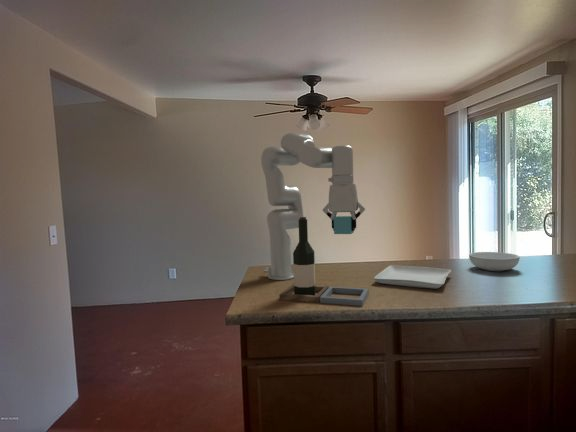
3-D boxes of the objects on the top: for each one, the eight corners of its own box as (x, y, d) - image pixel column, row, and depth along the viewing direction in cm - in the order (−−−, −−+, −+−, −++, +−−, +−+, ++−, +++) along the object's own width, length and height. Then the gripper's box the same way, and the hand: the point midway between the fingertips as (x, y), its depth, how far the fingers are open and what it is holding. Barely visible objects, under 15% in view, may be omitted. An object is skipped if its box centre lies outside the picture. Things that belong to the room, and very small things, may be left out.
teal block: (334, 234, 133) (333, 217, 132) (337, 232, 138) (337, 216, 138) (350, 234, 131) (350, 217, 130) (353, 232, 136) (353, 216, 136)
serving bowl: (519, 267, 178) (519, 252, 177) (519, 276, 160) (519, 260, 160) (471, 263, 189) (471, 250, 189) (466, 271, 172) (466, 257, 171)
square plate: (389, 272, 177) (389, 264, 177) (451, 277, 164) (451, 268, 163) (372, 285, 154) (372, 276, 154) (443, 293, 140) (443, 282, 140)
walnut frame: (279, 299, 137) (279, 294, 137) (293, 289, 151) (292, 284, 151) (318, 302, 132) (318, 297, 132) (328, 291, 146) (328, 286, 146)
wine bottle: (309, 299, 136) (307, 218, 134) (290, 296, 140) (287, 217, 138) (319, 293, 143) (317, 216, 141) (301, 291, 147) (298, 216, 145)
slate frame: (320, 302, 132) (320, 297, 132) (330, 291, 146) (330, 286, 146) (362, 306, 127) (362, 300, 127) (368, 294, 141) (368, 288, 141)
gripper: (316, 181, 133) (318, 231, 134) (365, 179, 127) (366, 231, 128) (322, 181, 140) (323, 229, 141) (368, 179, 134) (369, 229, 135)
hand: (344, 230), depth 134 cm, fingers closed on teal block, 6 cm apart
